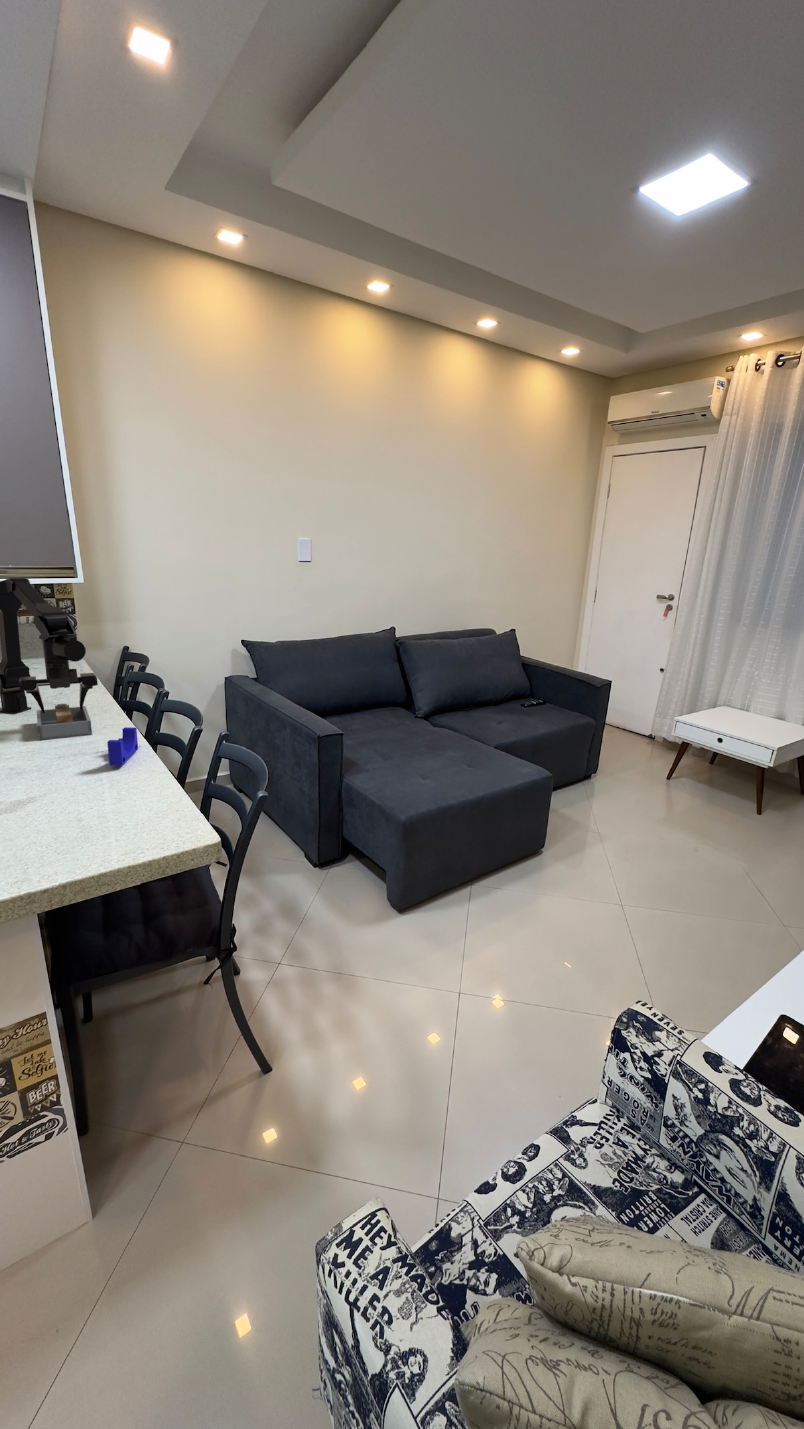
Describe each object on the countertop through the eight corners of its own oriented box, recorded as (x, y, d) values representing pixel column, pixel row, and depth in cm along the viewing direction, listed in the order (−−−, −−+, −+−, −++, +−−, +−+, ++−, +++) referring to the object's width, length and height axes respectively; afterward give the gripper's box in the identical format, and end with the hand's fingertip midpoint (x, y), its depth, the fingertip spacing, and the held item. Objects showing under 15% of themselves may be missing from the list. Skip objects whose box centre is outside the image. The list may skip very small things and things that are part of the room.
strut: (58, 733, 161) (56, 713, 160) (56, 722, 171) (54, 703, 170) (73, 731, 163) (71, 712, 162) (70, 720, 173) (68, 702, 171)
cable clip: (120, 749, 153) (118, 727, 152) (138, 749, 154) (136, 727, 152) (103, 765, 142) (100, 741, 140) (122, 765, 142) (120, 741, 141)
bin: (38, 723, 171) (36, 710, 170) (86, 718, 178) (85, 706, 177) (39, 740, 157) (37, 726, 156) (92, 734, 163) (90, 721, 162)
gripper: (15, 664, 150) (23, 722, 154) (96, 659, 160) (102, 714, 164) (16, 656, 159) (23, 712, 163) (93, 653, 169) (98, 705, 173)
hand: (62, 711), depth 166 cm, fingers open, 9 cm apart
